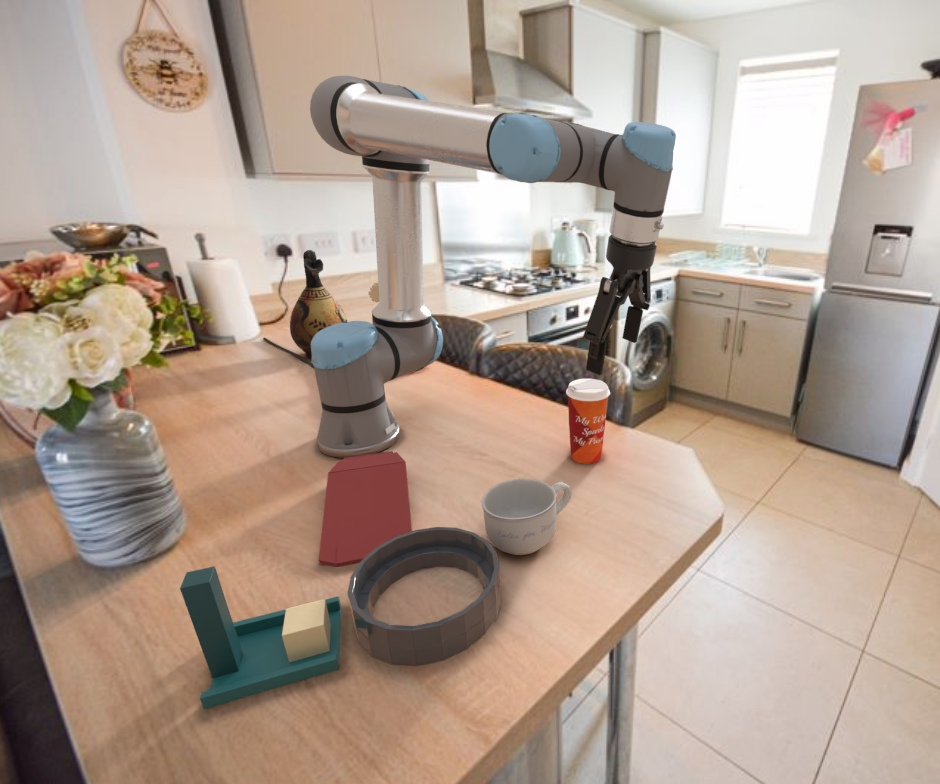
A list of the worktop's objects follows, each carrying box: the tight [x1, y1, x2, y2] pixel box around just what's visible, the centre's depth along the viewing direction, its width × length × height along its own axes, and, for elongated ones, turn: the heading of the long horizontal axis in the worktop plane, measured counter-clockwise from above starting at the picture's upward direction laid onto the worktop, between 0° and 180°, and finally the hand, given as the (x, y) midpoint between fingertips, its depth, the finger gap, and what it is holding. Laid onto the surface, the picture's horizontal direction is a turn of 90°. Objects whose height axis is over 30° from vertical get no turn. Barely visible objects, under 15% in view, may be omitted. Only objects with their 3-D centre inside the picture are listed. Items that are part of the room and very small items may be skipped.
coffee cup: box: [565, 378, 611, 465], centre depth 97 cm, size 8×8×15 cm
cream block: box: [282, 598, 331, 662], centre depth 57 cm, size 4×4×4 cm
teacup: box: [481, 478, 573, 556], centre depth 75 cm, size 14×11×8 cm
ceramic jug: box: [289, 249, 348, 360], centre depth 148 cm, size 17×15×30 cm
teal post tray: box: [179, 566, 342, 710], centre depth 55 cm, size 12×10×13 cm
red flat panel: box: [318, 450, 413, 567], centre depth 81 cm, size 12×5×25 cm
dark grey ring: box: [347, 526, 502, 667], centre depth 63 cm, size 17×17×6 cm
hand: (612, 355), depth 91 cm, fingers open, 13 cm apart
